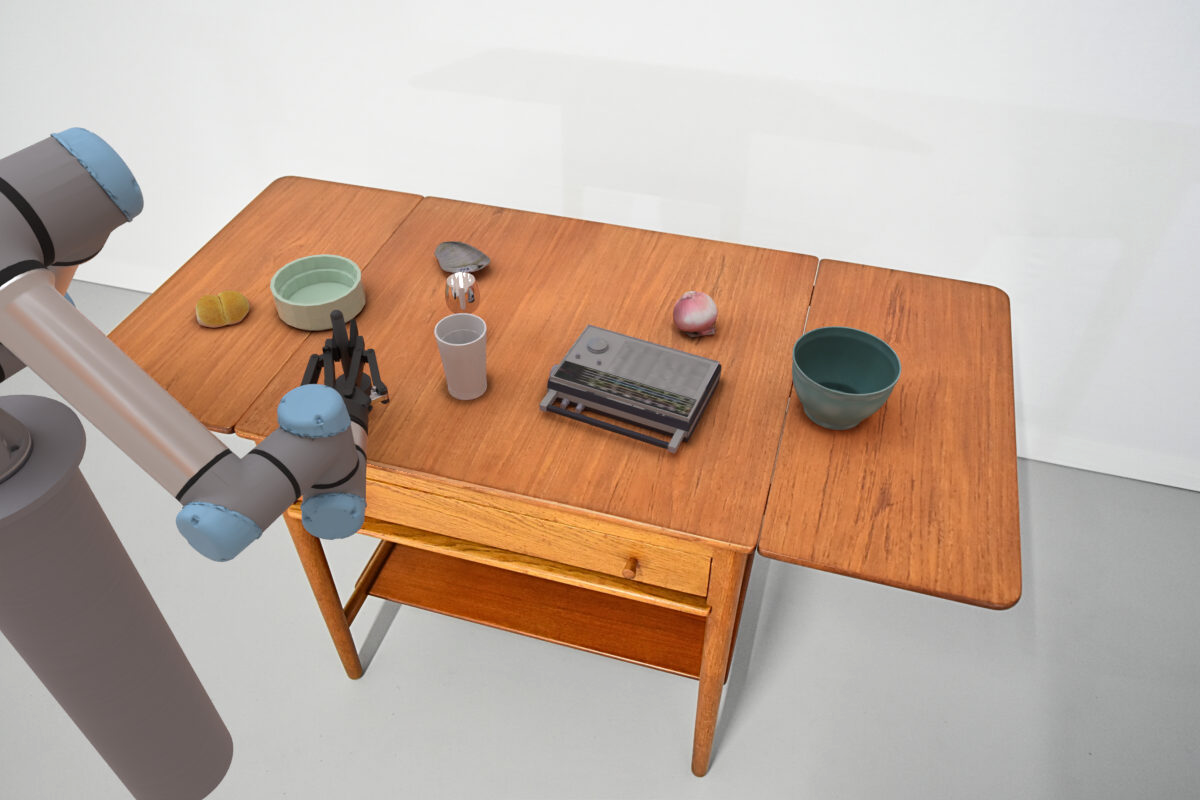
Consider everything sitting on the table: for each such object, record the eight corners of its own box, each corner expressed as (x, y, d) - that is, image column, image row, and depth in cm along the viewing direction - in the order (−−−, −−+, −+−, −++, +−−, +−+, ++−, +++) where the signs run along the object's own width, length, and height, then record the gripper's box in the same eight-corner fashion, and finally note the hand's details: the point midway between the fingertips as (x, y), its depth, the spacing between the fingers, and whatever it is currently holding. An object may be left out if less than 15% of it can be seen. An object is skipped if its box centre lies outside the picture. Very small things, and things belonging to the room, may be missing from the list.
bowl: (308, 345, 153) (300, 317, 149) (262, 306, 161) (253, 278, 157) (383, 307, 161) (378, 279, 157) (335, 271, 169) (329, 244, 165)
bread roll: (254, 321, 158) (248, 302, 155) (201, 334, 155) (194, 315, 152) (246, 295, 163) (241, 277, 161) (195, 307, 160) (188, 289, 158)
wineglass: (475, 350, 152) (469, 293, 144) (444, 343, 154) (437, 286, 146) (489, 330, 157) (484, 274, 148) (459, 324, 158) (452, 267, 150)
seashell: (421, 271, 169) (418, 248, 166) (447, 249, 175) (444, 227, 171) (473, 289, 165) (471, 266, 162) (498, 267, 171) (496, 244, 167)
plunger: (350, 415, 136) (329, 328, 124) (330, 397, 139) (307, 310, 127) (381, 397, 139) (363, 311, 127) (360, 380, 142) (341, 294, 130)
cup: (435, 380, 147) (426, 322, 139) (480, 365, 150) (473, 307, 142) (454, 409, 142) (446, 351, 134) (500, 393, 145) (495, 335, 137)
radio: (723, 355, 144) (680, 436, 131) (720, 380, 148) (678, 461, 134) (585, 316, 151) (531, 389, 138) (585, 341, 155) (532, 414, 141)
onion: (693, 309, 162) (696, 276, 157) (726, 329, 158) (730, 296, 153) (663, 328, 157) (665, 295, 153) (696, 349, 153) (699, 315, 149)
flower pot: (841, 365, 151) (854, 314, 143) (907, 426, 140) (924, 374, 133) (762, 394, 145) (771, 343, 138) (823, 460, 135) (837, 408, 127)
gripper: (287, 461, 121) (301, 350, 138) (399, 449, 123) (399, 341, 140) (274, 421, 116) (290, 311, 133) (391, 410, 118) (392, 302, 135)
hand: (346, 327), depth 136 cm, fingers closed on plunger, 2 cm apart
